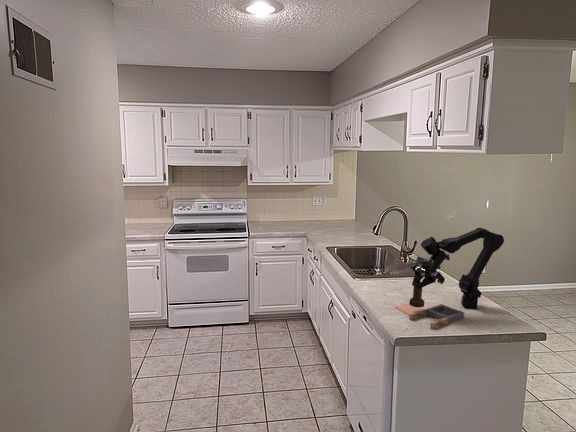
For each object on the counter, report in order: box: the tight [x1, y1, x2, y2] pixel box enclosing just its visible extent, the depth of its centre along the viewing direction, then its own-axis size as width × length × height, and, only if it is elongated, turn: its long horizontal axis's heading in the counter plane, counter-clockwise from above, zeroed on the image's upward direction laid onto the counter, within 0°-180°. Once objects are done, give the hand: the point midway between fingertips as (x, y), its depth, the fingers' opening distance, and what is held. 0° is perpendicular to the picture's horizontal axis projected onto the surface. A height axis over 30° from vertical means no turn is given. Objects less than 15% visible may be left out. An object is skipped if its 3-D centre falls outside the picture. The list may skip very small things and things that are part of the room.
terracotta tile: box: [394, 303, 425, 316], centre depth 200 cm, size 11×11×1 cm
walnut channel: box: [408, 308, 449, 330], centre depth 187 cm, size 11×12×2 cm
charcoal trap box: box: [426, 303, 465, 324], centre depth 194 cm, size 12×12×2 cm
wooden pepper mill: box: [408, 267, 425, 308], centre depth 194 cm, size 7×6×18 cm
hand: (415, 286), depth 193 cm, fingers closed on wooden pepper mill, 4 cm apart
